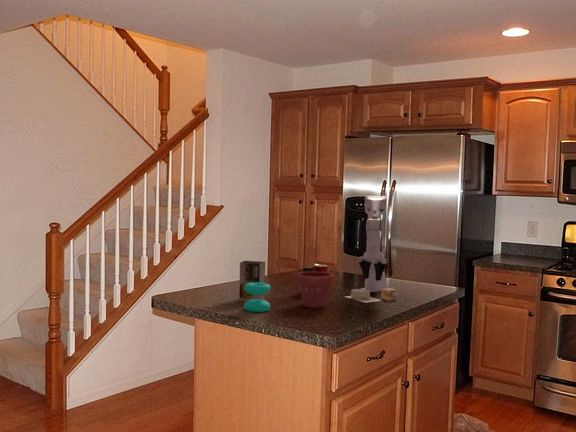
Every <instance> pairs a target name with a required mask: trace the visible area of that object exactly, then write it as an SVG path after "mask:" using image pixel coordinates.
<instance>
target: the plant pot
mask: <svg viewBox="0 0 576 432" xmlns="http://www.w3.org/2000/svg"><path fill="white" fill-rule="evenodd" d="M333 277H334V276H333V274H332V273H330V272H328V273H326V272H303V271H302V272H298V273H297V283H298V284H299V291H300V290H301V294H300V296H301V300H302V305H303V306H304V307H307V308H308V307H309V308H324V307H326V306H327V301H328V296H329V293H330V288H331V285H332V284H333Z"/></svg>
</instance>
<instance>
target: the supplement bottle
mask: <svg viewBox="0 0 576 432" xmlns="http://www.w3.org/2000/svg"><path fill="white" fill-rule="evenodd" d="M302 272H314V267H312V266H302ZM299 294H300V295H301V290H300V289H299Z"/></svg>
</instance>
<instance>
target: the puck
mask: <svg viewBox="0 0 576 432" xmlns="http://www.w3.org/2000/svg"><path fill="white" fill-rule="evenodd" d="M370 294H371V292H370V291H369V290H365V289H361V288H354V289H353V288H352V289H351V291H350V296H351V298H354V299H369V298H370V297H371V295H370ZM351 298H350V299H351ZM354 299H353V300H354Z"/></svg>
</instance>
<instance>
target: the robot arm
mask: <svg viewBox="0 0 576 432" xmlns="http://www.w3.org/2000/svg"><path fill="white" fill-rule="evenodd" d="M387 198H388V197H387V196H386V195H384V196H383V195H365V197H364V211H365V213H366V214H367V220H366V223H365V224H366V225H365V231H366V249H365V250H366V251H365V252H364V253H363V255H362V256H359V262H358V265H359V266H360V269H361V272H362V275H363V277H362V278H363V279H364V287H362V288H361V287H360V289H365V290H369V291H370V293H376V292H377V293H378V292H381V289H385V288H386V287H387V286H386V284H387V274H386V273H385V272H384V271H385V270H386V268H387V258H385V255H384V253H382V252H381V239H382V238H381V233H382V231H383V220H382V215H385V214H386V212H387Z"/></svg>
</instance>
